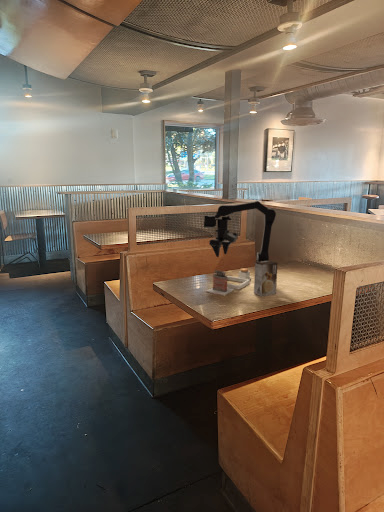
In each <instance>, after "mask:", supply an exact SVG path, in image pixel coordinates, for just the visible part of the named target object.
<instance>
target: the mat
mask: <svg viewBox="0 0 384 512" xmlns="http://www.w3.org/2000/svg"><path fill="white" fill-rule="evenodd" d="M234 290H235V289H233V288H227V292H220V291H216V290H213V287H211V288H208V289H207V290H206V292H207V293H211V294H215V295H216V294H217V295H221V296H226V295H228V294H230V293H232V292H233V291H234Z"/></svg>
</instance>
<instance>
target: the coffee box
mask: <svg viewBox="0 0 384 512" xmlns="http://www.w3.org/2000/svg"><path fill="white" fill-rule="evenodd" d="M277 277H278V262H276V261H273V260H270V259H269V260H268V261H260V262H258V261H255V263H254V278H253V279H254V281H253V283H254V285H253V293H254V294H255V295H258V296H259V297H267V296H271V295H276V294H277V279H278V278H277Z"/></svg>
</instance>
